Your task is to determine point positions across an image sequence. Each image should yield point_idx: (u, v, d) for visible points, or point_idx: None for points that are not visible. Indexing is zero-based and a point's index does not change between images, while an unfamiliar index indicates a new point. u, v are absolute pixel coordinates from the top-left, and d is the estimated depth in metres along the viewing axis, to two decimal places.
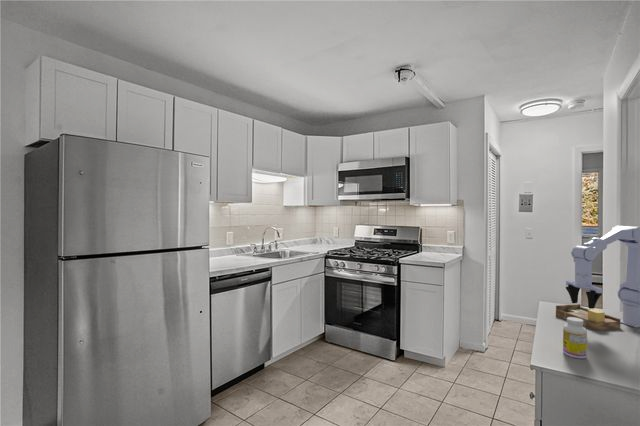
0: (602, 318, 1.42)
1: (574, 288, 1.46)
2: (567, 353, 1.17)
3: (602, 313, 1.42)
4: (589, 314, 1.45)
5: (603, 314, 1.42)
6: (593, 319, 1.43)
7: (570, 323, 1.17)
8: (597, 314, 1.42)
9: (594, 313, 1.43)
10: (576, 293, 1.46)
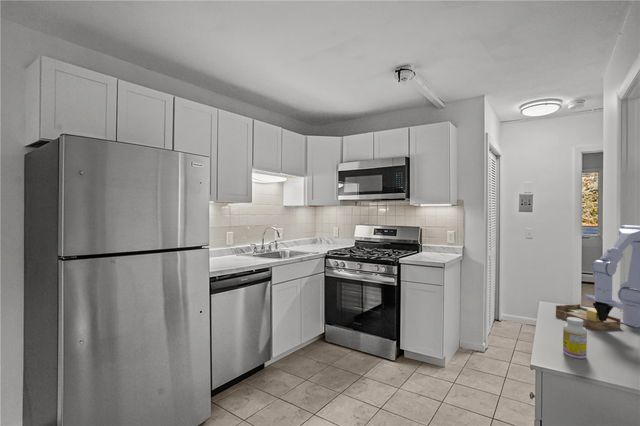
0: None
1: None
2: (567, 353, 1.17)
3: None
4: (588, 314, 1.45)
5: None
6: (592, 319, 1.44)
7: (570, 323, 1.17)
8: (596, 313, 1.42)
9: (593, 313, 1.43)
10: None
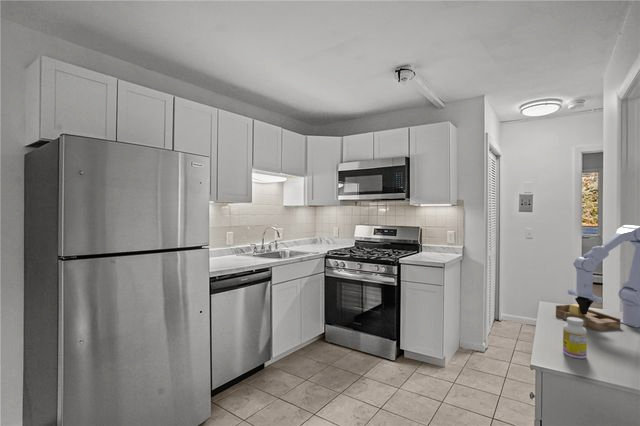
0: None
1: None
2: (567, 353, 1.17)
3: None
4: (571, 308, 1.53)
5: None
6: (574, 313, 1.52)
7: (570, 323, 1.17)
8: (578, 308, 1.50)
9: (575, 307, 1.51)
10: None
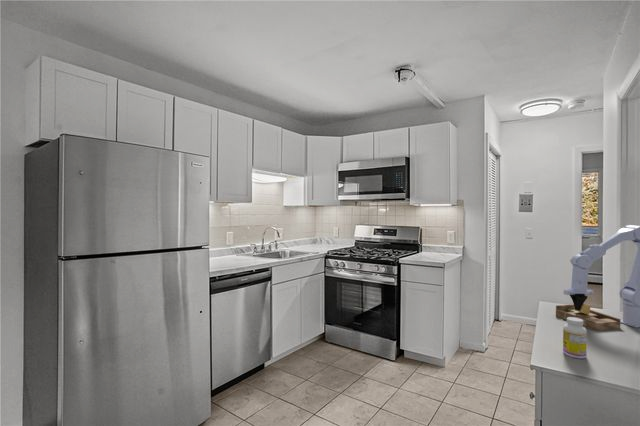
0: (587, 311, 1.51)
1: None
2: (567, 353, 1.17)
3: (588, 306, 1.51)
4: None
5: (589, 307, 1.51)
6: None
7: (570, 323, 1.17)
8: (584, 305, 1.51)
9: None
10: None
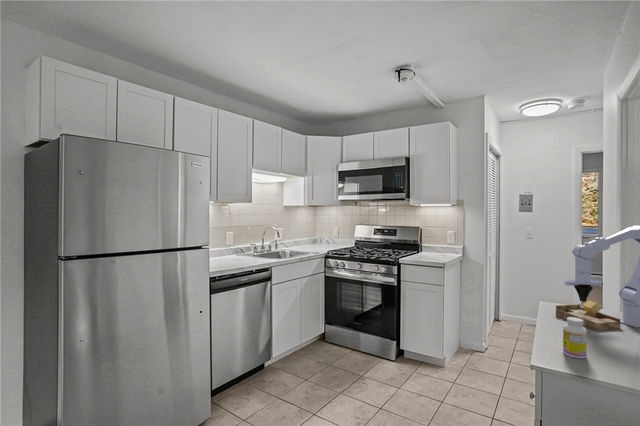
0: (595, 311, 1.51)
1: None
2: (567, 353, 1.17)
3: (599, 308, 1.52)
4: (587, 302, 1.54)
5: (598, 309, 1.52)
6: (588, 306, 1.52)
7: (570, 323, 1.17)
8: (596, 304, 1.51)
9: (593, 302, 1.52)
10: None
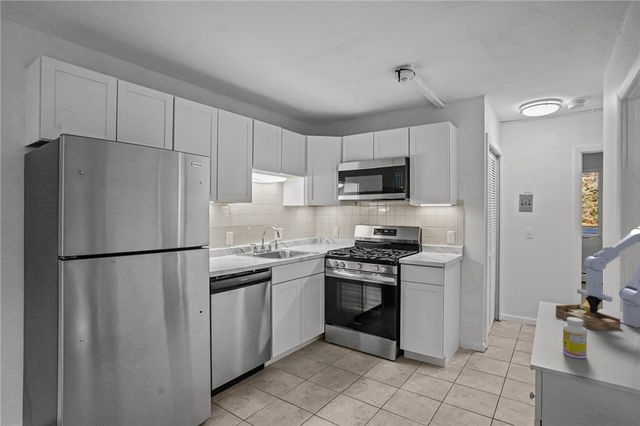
0: None
1: None
2: (567, 353, 1.17)
3: (598, 307, 1.52)
4: (586, 302, 1.55)
5: None
6: (587, 305, 1.53)
7: (570, 323, 1.17)
8: None
9: None
10: (596, 303, 1.50)
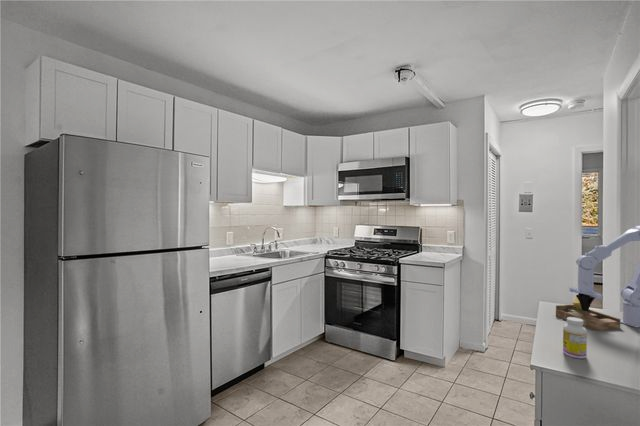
0: None
1: None
2: (567, 353, 1.17)
3: None
4: (576, 299, 1.60)
5: None
6: (577, 302, 1.57)
7: (570, 323, 1.17)
8: None
9: None
10: None
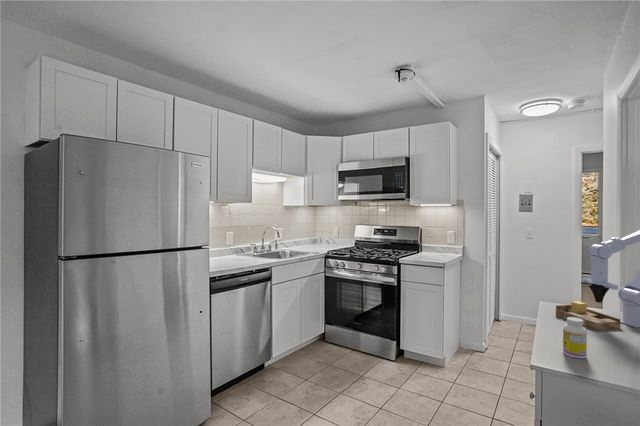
0: (584, 309, 1.55)
1: None
2: (567, 353, 1.17)
3: (584, 304, 1.55)
4: (572, 305, 1.58)
5: (585, 305, 1.55)
6: (576, 310, 1.56)
7: (570, 323, 1.17)
8: (580, 305, 1.55)
9: (577, 304, 1.56)
10: None
